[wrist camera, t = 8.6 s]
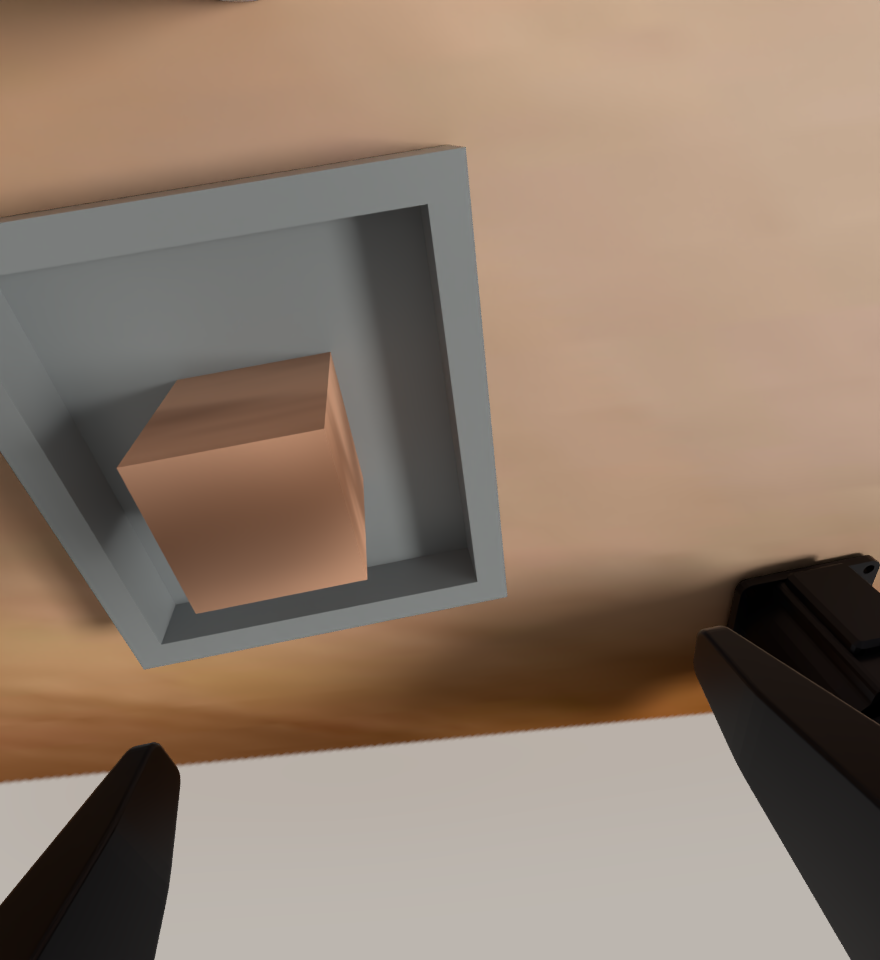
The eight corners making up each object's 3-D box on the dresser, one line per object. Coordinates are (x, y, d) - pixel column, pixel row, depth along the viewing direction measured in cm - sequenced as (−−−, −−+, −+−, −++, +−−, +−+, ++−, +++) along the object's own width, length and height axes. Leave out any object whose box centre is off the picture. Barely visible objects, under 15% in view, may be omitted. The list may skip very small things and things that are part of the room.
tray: (492, 552, 22) (507, 596, 20) (164, 616, 21) (143, 669, 19) (448, 144, 14) (465, 147, 12) (-62, 228, 14) (-136, 244, 12)
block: (363, 479, 19) (367, 579, 15) (230, 504, 19) (196, 614, 14) (330, 351, 16) (324, 429, 12) (176, 380, 16) (116, 467, 12)
